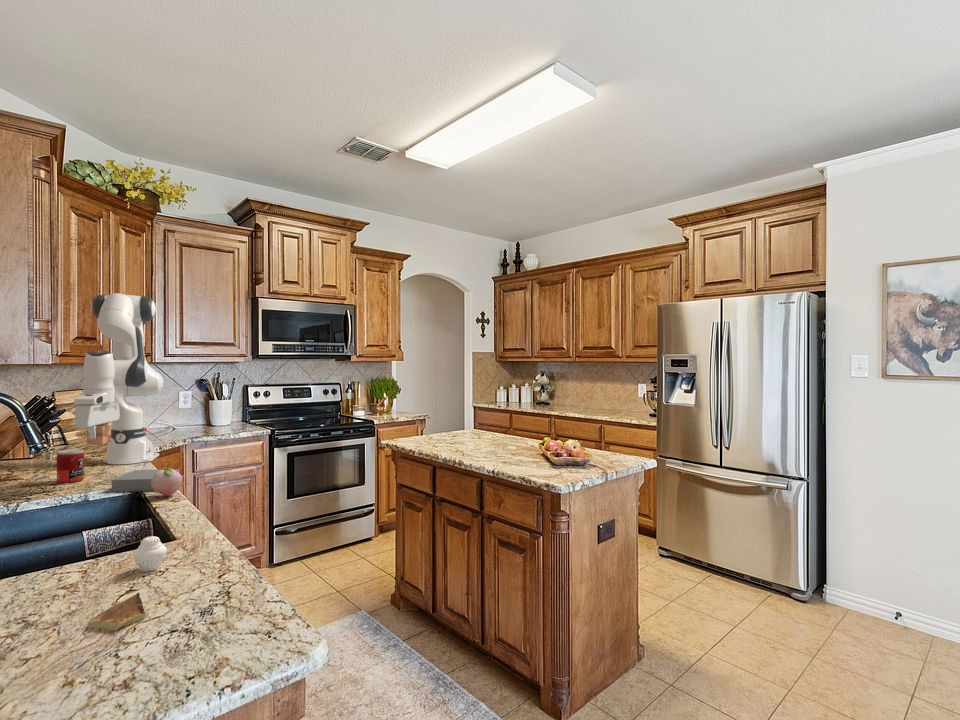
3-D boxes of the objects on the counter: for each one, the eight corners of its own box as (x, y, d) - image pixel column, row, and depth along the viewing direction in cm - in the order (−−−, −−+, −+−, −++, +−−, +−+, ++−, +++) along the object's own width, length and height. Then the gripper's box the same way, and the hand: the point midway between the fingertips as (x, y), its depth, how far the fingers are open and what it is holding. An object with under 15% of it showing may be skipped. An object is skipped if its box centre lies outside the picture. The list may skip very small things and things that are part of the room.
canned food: (72, 484, 181) (72, 453, 181) (50, 483, 181) (50, 452, 181) (89, 479, 189) (89, 449, 189) (68, 478, 189) (68, 448, 189)
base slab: (134, 481, 186) (134, 470, 186) (179, 480, 188) (179, 469, 188) (111, 491, 171) (111, 479, 171) (160, 490, 173) (160, 478, 173)
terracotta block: (95, 441, 180) (95, 424, 180) (110, 441, 181) (110, 424, 181) (86, 444, 176) (86, 426, 175) (102, 444, 176) (102, 426, 176)
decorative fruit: (147, 496, 166) (148, 465, 166) (176, 491, 172) (176, 462, 172) (155, 502, 160) (155, 470, 160) (184, 497, 165) (185, 466, 165)
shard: (138, 600, 97) (138, 590, 97) (174, 603, 95) (174, 594, 95) (85, 630, 86) (85, 619, 86) (124, 634, 85) (124, 623, 85)
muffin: (125, 573, 107) (125, 540, 107) (148, 562, 113) (148, 530, 113) (152, 575, 106) (152, 542, 106) (173, 563, 112) (173, 532, 112)
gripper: (106, 394, 188) (106, 432, 188) (70, 399, 168) (70, 441, 168) (125, 394, 189) (124, 432, 189) (91, 399, 169) (91, 441, 169)
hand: (98, 436), depth 178 cm, fingers closed on terracotta block, 5 cm apart
